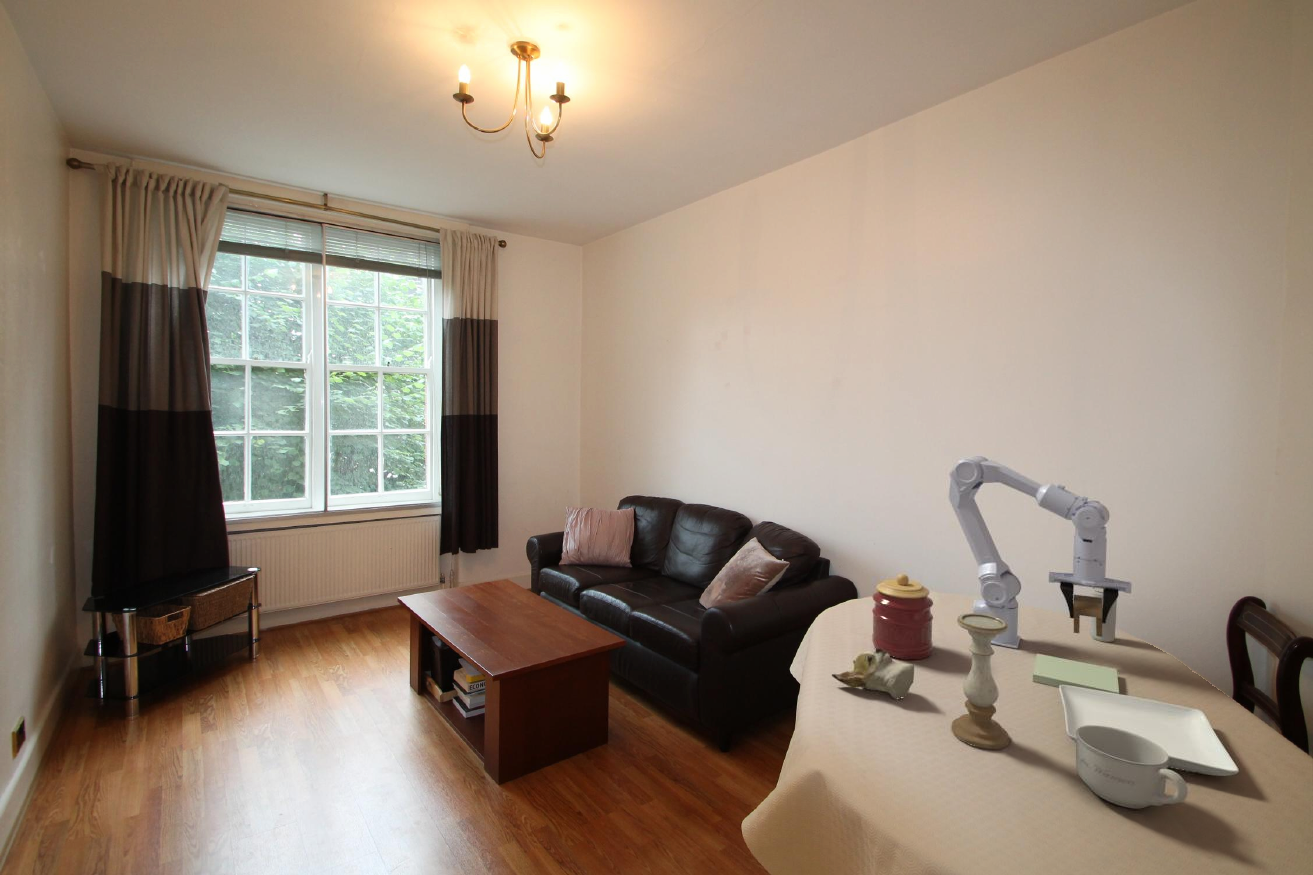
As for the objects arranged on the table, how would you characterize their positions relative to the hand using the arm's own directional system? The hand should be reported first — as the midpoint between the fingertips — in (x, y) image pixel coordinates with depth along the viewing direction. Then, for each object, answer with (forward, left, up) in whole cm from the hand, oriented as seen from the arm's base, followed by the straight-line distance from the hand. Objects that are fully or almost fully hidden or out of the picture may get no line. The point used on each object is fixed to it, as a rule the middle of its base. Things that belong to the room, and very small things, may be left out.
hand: (1087, 619), depth 132 cm
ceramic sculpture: (-34, -38, -10) cm, 52 cm away
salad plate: (+7, -31, -10) cm, 33 cm away
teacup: (+5, -52, -10) cm, 53 cm away
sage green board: (-2, -11, -9) cm, 15 cm away
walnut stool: (0, 0, -2) cm, 3 cm away
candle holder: (-15, -45, -10) cm, 48 cm away
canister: (-35, -15, -10) cm, 39 cm away
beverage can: (+3, +17, -10) cm, 20 cm away
